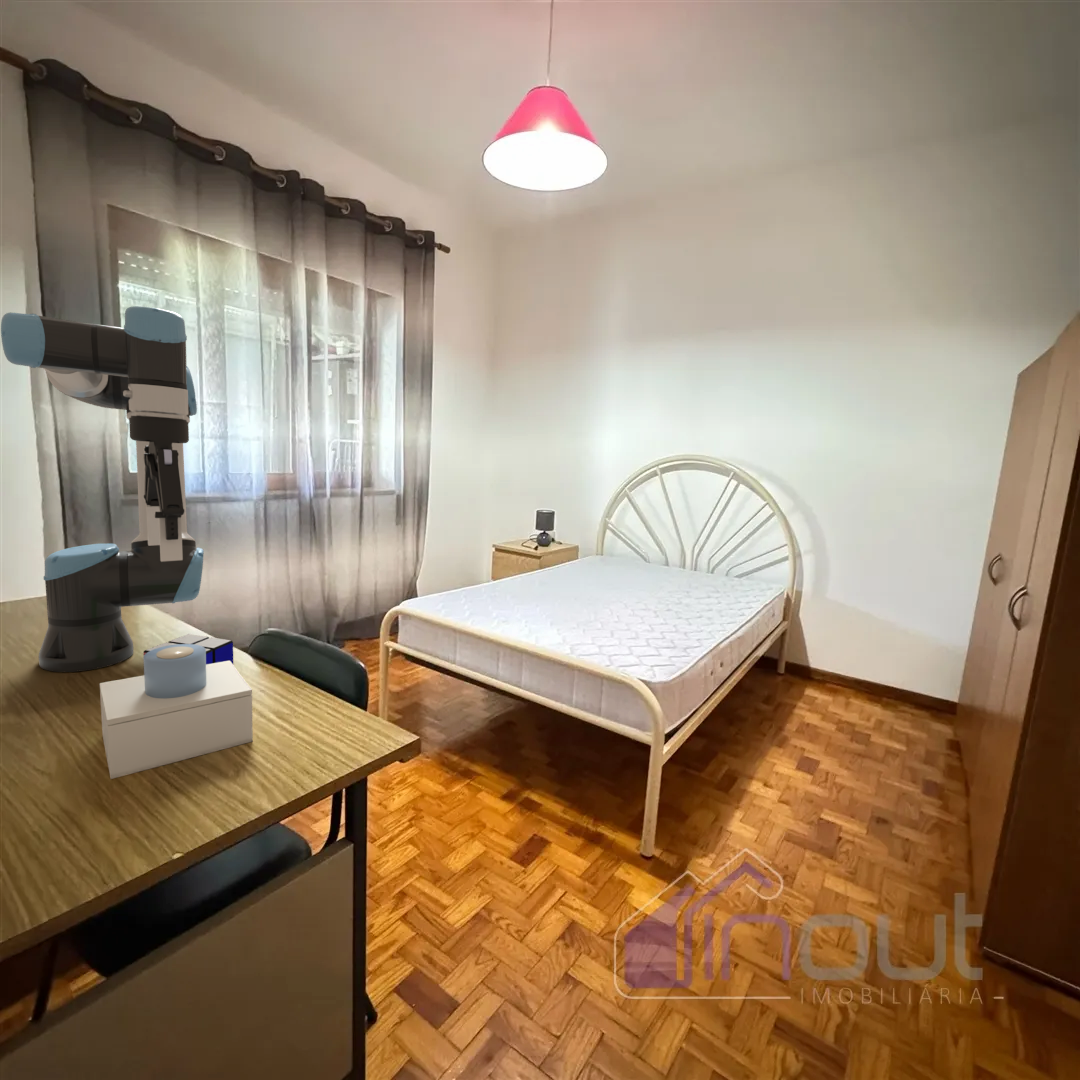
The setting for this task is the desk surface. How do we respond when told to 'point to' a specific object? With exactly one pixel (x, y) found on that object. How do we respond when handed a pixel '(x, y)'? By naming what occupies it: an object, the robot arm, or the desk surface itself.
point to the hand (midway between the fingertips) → (164, 552)
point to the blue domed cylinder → (175, 670)
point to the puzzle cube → (214, 647)
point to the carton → (176, 735)
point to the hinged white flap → (132, 702)
